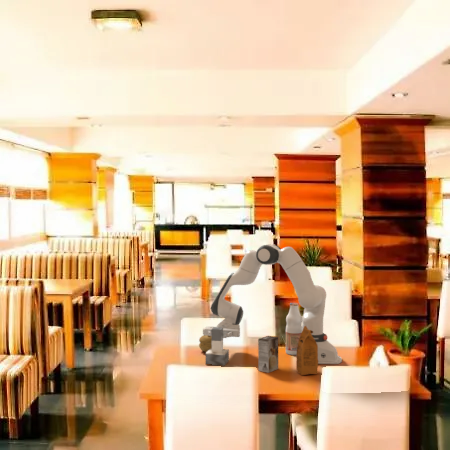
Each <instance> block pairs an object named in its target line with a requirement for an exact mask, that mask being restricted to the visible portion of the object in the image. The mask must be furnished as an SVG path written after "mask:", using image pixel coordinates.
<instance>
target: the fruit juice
mask: <svg viewBox="0 0 450 450" xmlns="http://www.w3.org/2000/svg"><path fill="white" fill-rule="evenodd" d="M299 306H300V303H299V302H290V303H289V310H288V314H287V315H286V318H285V322H286V326H285V354H287V355H290V356H292V355H293V356H296V354H297V347H298V341H299V338H300V336H301V333H302V317H303V315H301V312H300V309H299Z"/></svg>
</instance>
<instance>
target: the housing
mask: <svg viewBox="0 0 450 450" xmlns="http://www.w3.org/2000/svg"><path fill="white" fill-rule="evenodd" d="M213 327H214V328H212V352H218V353H221V352H222V351H223V349H224V338H223V328H220V327H217V326H213Z"/></svg>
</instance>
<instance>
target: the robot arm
mask: <svg viewBox="0 0 450 450" xmlns="http://www.w3.org/2000/svg"><path fill="white" fill-rule="evenodd" d="M275 264H279V265H281V267H282V269H283V270H284V272H285V273H286V275H287V277H288V279H289V280H290V282H291V283H292V286H293V289H294V290H295V291H294V292H295V295H296V296H297V300H298V303H299V306H301V307H302V308H304V309H303V314H302V331H303V328H304V326H306V327H307V328H308V330H312V331H313V333H311V334H312V336H313V338H314V340H315V341H316V343H317V345H318V365H339V364H342V362H343V359H342V357H341V356H339V354H338V350H337V348H336V346H334V345H333V343H331V342H330V341H328V335H327V333H324V315H325V310H326V309H325V308H326V301H327V300H326V299H327V292H326V290H325V288H324V287H322V285H321V286H320V285H316V284H314V281H313V279H312V276H311V272H310V270H309V269H308V267H307V266H306V264H305V262H304V261H303V259H302V257H300V255H299V254H298V253H297V251H296V250H295V249H294V248H293V247H292V246H285V247H282V248H280V247H279V245H277V244H271V243H270V244H264V245H261V246H259V247H258V249H257V250H252V249H251V250H248V251H246V253H245V254H244V256H243V257H242V260H241V261H240V264H239V267H238V269H237V270H236V271H235V272H232V273H231V274H230V275H229V276H228V277H227V279H226V280H225V282H224V284H223V285H222V286H221V289H220V290H219V292H218V293H217V295H216V297H215V299H214V300H213V301H212V303H211V304H210V311H211V313H212V314H213V315H214V316H218V317H221V318H224V319H223V320H221V321H220V322H219V323H218V324H217V325H216V327H220V328H223V339H227V338H232V337H233V338H240V337H241V326H240V323H241V322H242V320H243V316H244V310H243V307H242V306H240V305H239V304H237V303H233V302H231V301H229V300H226V296H227V295H228V292H229V291H230V289H231V288H232V287H233V286H248V285H251V284H253V283H254V282H255V281H256V279H257V277H258V275H259V271H260V269H261V267H262V265H265V266H268V265H275ZM214 327H215V326H206V327H203V328H202V336H203V335H209V336H212V328H214Z"/></svg>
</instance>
